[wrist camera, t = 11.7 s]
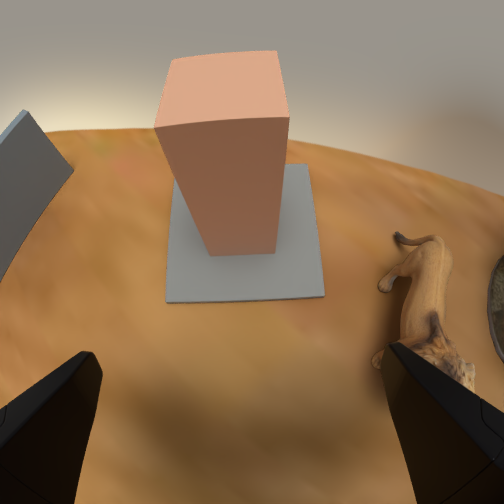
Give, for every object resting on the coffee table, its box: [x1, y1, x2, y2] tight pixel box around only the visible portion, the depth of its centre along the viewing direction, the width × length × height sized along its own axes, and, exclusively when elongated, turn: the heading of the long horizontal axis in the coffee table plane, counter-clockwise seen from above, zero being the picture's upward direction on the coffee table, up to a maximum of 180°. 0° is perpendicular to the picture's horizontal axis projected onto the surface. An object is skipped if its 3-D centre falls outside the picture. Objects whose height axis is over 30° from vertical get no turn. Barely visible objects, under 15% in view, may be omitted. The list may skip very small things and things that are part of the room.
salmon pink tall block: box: [154, 51, 289, 256], centre depth 17 cm, size 5×5×14 cm
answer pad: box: [165, 164, 325, 303], centre depth 24 cm, size 12×12×1 cm
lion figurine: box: [371, 232, 475, 393], centre depth 17 cm, size 15×5×9 cm, turn 176°
